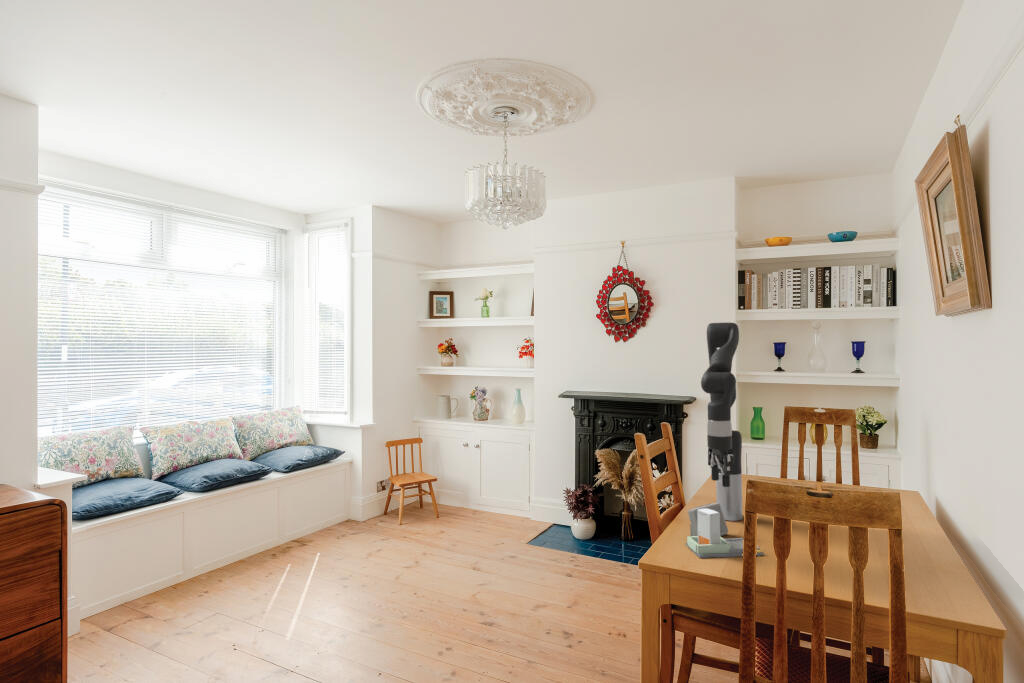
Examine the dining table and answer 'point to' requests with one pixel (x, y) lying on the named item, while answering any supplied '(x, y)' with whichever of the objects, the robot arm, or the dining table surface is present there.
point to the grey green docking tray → (716, 548)
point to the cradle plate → (736, 544)
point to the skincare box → (708, 526)
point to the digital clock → (694, 519)
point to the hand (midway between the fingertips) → (720, 483)
